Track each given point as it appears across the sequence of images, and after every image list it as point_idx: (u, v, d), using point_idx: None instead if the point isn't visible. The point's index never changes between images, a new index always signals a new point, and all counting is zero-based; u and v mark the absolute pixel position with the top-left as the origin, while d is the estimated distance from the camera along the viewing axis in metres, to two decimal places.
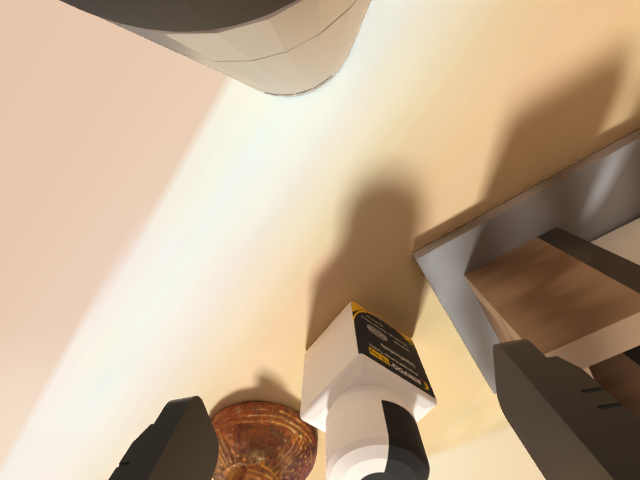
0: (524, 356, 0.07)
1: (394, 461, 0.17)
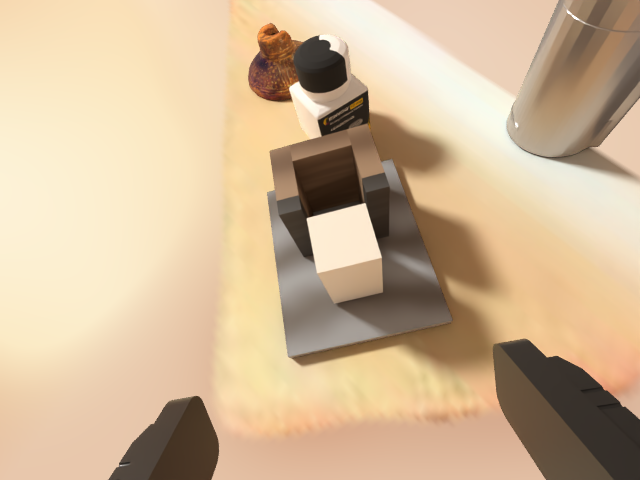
0: (524, 356, 0.07)
1: (333, 53, 0.33)
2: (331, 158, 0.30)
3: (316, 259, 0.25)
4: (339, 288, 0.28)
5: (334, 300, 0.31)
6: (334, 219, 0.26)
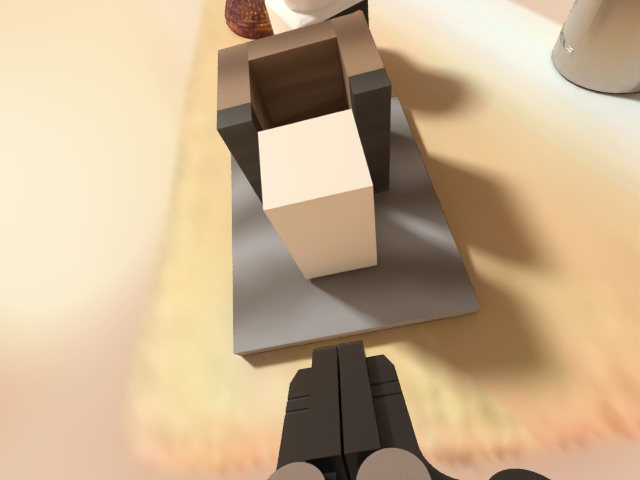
0: (349, 354, 0.09)
1: None
2: (307, 60, 0.20)
3: (265, 189, 0.15)
4: (309, 249, 0.18)
5: (305, 273, 0.21)
6: (300, 132, 0.16)
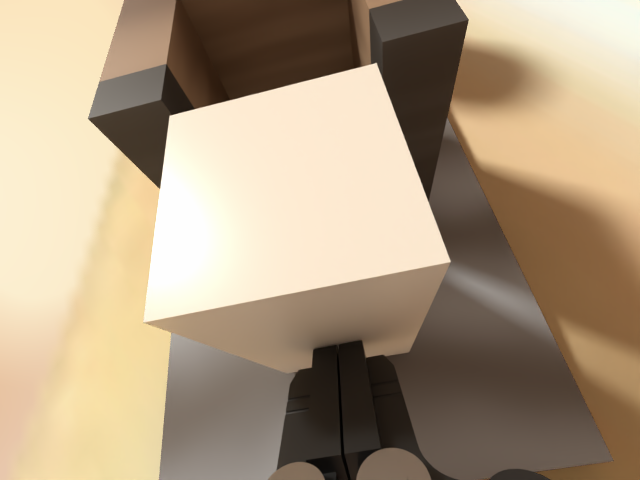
0: (349, 354, 0.09)
1: None
2: None
3: (159, 259, 0.06)
4: (285, 352, 0.09)
5: (284, 370, 0.12)
6: (260, 115, 0.07)
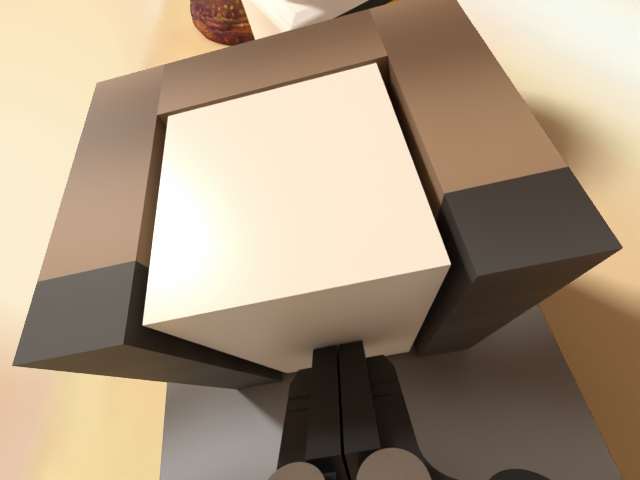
0: (349, 354, 0.09)
1: None
2: None
3: (158, 261, 0.06)
4: (285, 353, 0.09)
5: (284, 369, 0.12)
6: (259, 115, 0.07)
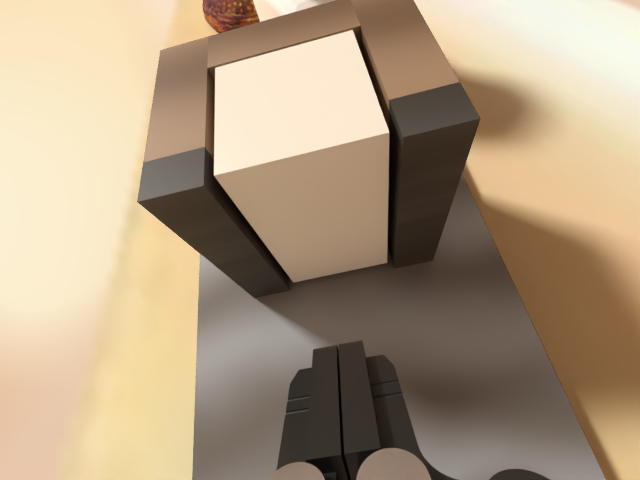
0: (349, 354, 0.09)
1: None
2: None
3: (219, 145, 0.10)
4: (293, 240, 0.13)
5: (291, 274, 0.16)
6: (276, 64, 0.11)
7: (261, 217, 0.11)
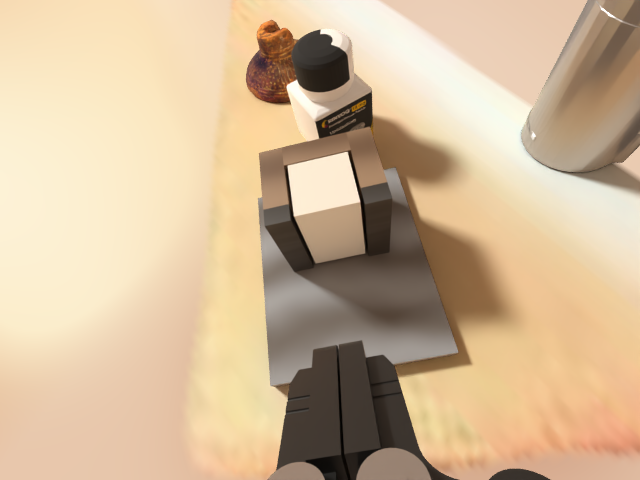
0: (349, 354, 0.09)
1: (335, 49, 0.30)
2: None
3: (294, 203, 0.24)
4: (319, 241, 0.28)
5: (315, 258, 0.31)
6: (315, 166, 0.26)
7: (307, 231, 0.26)
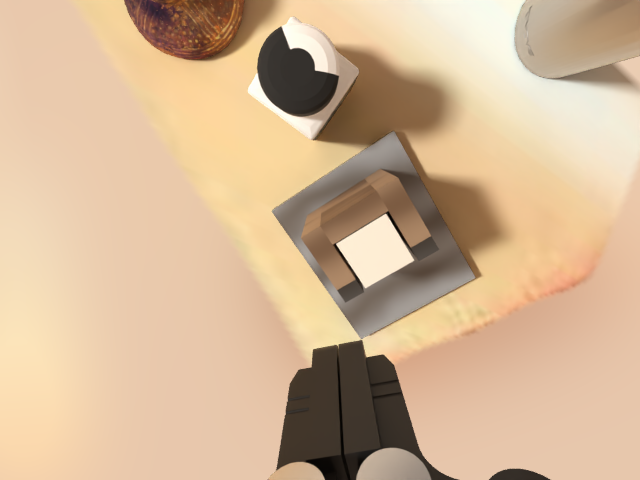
0: (349, 354, 0.09)
1: (324, 78, 0.23)
2: None
3: (360, 277, 0.29)
4: None
5: None
6: (362, 238, 0.28)
7: None
